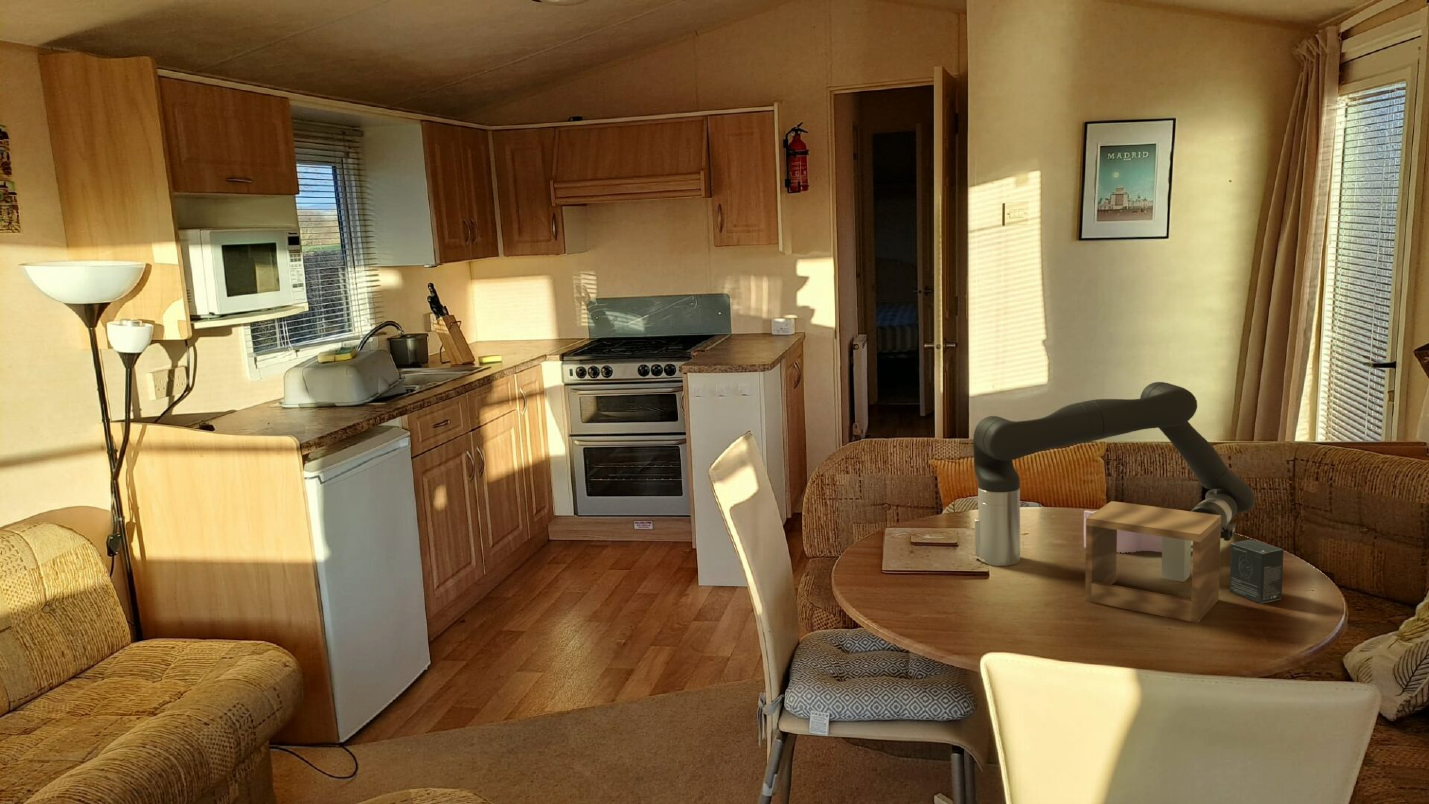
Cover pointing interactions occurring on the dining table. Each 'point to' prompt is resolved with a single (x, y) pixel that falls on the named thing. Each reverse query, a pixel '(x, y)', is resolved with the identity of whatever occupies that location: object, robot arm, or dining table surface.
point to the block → (1176, 559)
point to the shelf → (1157, 523)
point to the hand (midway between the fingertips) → (1188, 536)
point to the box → (1256, 571)
